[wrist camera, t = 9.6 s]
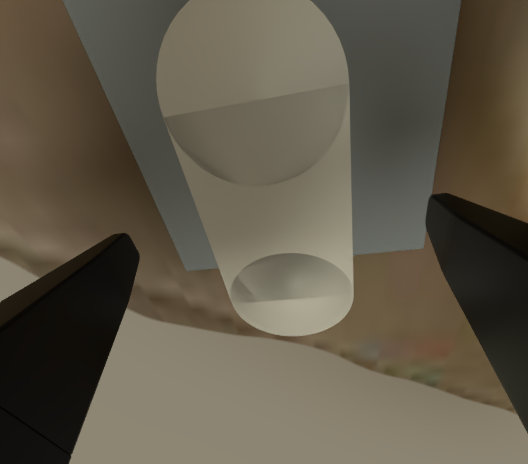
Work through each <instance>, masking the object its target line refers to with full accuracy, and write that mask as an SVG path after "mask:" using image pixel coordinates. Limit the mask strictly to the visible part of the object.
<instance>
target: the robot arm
mask: <svg viewBox="0 0 528 464" xmlns="http://www.w3.org/2000/svg"><path fill="white" fill-rule="evenodd" d="M425 225H426V229H427V232H428V235H429V237H430V240H431V243H432V245H433V248H434V251H435V253H436V256H437V259H438V262H439V264H440V267H441V269H442V272H443V274H444V276H445V278H446V280H447V282H448V284H449V286H450V288H451V290H452V291H453V293H454V295H455V297H456V299H457V301H458V303H459V305H460V307H461V308H462V310H463V312H464V314H465V316H466V318H467V320H468V322H469V324H470V325H471V327H472V329H473V331H474V333H475V335H476V337H477V339H478V340H479V342H480V344H481V346H482V348H483V350H484V352H485V354H486V356H487V357H488V359H489V361H490V363H491V365H492V367H493V369H494V371H495V373H496V374H497V376H498V378H499V380H500V382H501V384H502V386H503V388H504V390H505V391H506V393H507V395H508V397H509V399H510V401H511V403H512V405H513V406H514V408H515V410H516V412H517V414H518V416H519V418H520V419H521V421H522V423H523V425H524V427H525V429H526V431H527V433H528V223H526V222H524V221H521V220H518V219H515V218H513V217H510V216H507V215H505V214H502V213H499V212H497V211H494V210H491V209H489V208H486V207H483V206H481V205H478V204H475V203H473V202H470V201H467V200H465V199H462V198H459V197H457V196H454V195H451V194H449V193H441V194H434V195H431V196H430V197H429V200H428V205H427V212H426V219H425ZM139 258H140V257H139V252H138V250H137V249H136V247H135V245H134V243H133V241H132V240H131V238H130V236H129V235H128V234H126V233H120V234H114V235H112V236H110V237H108V238H107V239H105V240H103V241H101V242H100V243H98V244H96V245H95V246H93V247H91V248H90V249H88V250H86V251H85V252H83V253H81V254H80V255H78V256H76V257H75V258H73V259H71V260H70V261H68V262H66V263H65V264H63V265H61V266H60V267H58V268H56V269H55V270H53V271H51V272H50V273H48V274H46V275H45V276H43V277H41V278H40V279H38V280H36V281H35V282H33V283H31V284H30V285H28V286H26V287H24V288H23V289H21V290H19V291H18V292H16V293H15V294H13V295H11V296H9V297H8V298H6V299H4V300H3V301H1V302H0V464H69V461H70V459H71V454H72V453H73V450H74V447H75V445H76V442H77V439H78V437H79V434H80V431H81V428H82V426H83V423H84V421H85V418H86V415H87V413H88V410H89V407H90V404H91V402H92V399H93V396H94V394H95V391H96V388H97V386H98V383H99V380H100V377H101V375H102V372H103V370H104V367H105V364H106V361H107V359H108V356H109V353H110V351H111V348H112V345H113V343H114V340H115V337H116V335H117V332H118V329H119V326H120V324H121V321H122V318H123V315H124V313H125V310H126V308H127V305H128V302H129V299H130V295H131V291H132V287H133V283H134V279H135V275H136V272H137V268H138V264H139Z"/></svg>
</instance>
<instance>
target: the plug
mask: <svg viewBox="0 0 528 464" xmlns="http://www.w3.org/2000/svg"><path fill="white" fill-rule="evenodd" d="M156 84H157V95H158V100H159V105H160V109H161V112H162V115H163V118H164V121H165V124H166V126H167V129H168V132H169V135H170V137H171V140H172V143H173V145H174V148H175V151H176V153H177V156H178V159H179V162H180V164H181V167H182V170H183V172H184V175H185V178H186V181H187V183H188V186H189V189H190V191H191V194H192V197H193V199H194V202H195V205H196V208H197V210H198V213H199V216H200V218H201V221H202V224H203V227H204V229H205V232H206V235H207V237H208V240H209V243H210V245H211V248H212V251H213V254H214V256H215V259H216V262H217V264H218V267H219V270H220V273H221V275H222V278H223V281H224V283H225V286H226V289H227V291H228V294H229V297H230V300H231V302H232V305H233V307H234V309H235V310H236V312H237V313H238V315H239V316H240V317H241V318H242V319H243V320H245V321H246V322H247V323H249V324H250V325H252V326H253V327H255V328H257V329H260V330H262V331H265V332H268V333H271V334H276V335H282V336H303V335H310V334H314V333H318V332H321V331H324V330H326V329H328V328H330V327H332V326H334V325H335V324H337V323H338V322H339V321H341V320H342V319H343V318H344V317H345V316H346V314H347V313H348V312H349V310H350V308H351V306H352V303H353V296H354V289H353V241H352V192H351V144H350V96H349V74H348V66H347V62H346V57H345V53H344V50H343V48H342V45H341V42H340V40H339V38H338V36H337V34H336V32H335V30H334V28H333V26H332V25H331V23H330V22H329V21H328V19H327V18H326V16H325V15H324V14H323V13H322V11H321V10H320V9H319V8H318V7H317V6H316V5H315V4H314V3H313V2H312V1H310V0H189V1H188V2H187V3H186V4H185V6H184V7H183V8H182V9H181V10H180V11H179V12H178V13H177V15H176V16H175V18H174V19H173V21H172V22H171V24H170V26H169V28H168V30H167V32H166V34H165V36H164V38H163V42H162V45H161V48H160V51H159V56H158V61H157V72H156Z"/></svg>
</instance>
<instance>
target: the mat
mask: <svg viewBox="0 0 528 464" xmlns="http://www.w3.org/2000/svg"><path fill="white" fill-rule="evenodd" d="M188 1H189V0H63V2H64V4H65V7H66V9H67V11H68V13H69V15H70V17H71V20H72V22H73V24H74V26H75V28H76V31H77V33H78V35H79V37H80V39H81V42H82V44H83V46H84V48H85V50H86V52H87V55H88V57H89V59H90V61H91V63H92V66H93V68H94V70H95V72H96V74H97V76H98V79H99V81H100V83H101V85H102V87H103V90H104V92H105V94H106V96H107V98H108V101H109V103H110V105H111V107H112V109H113V111H114V114H115V116H116V118H117V120H118V122H119V125H120V127H121V129H122V131H123V133H124V136H125V138H126V140H127V142H128V144H129V146H130V149H131V151H132V153H133V155H134V157H135V160H136V162H137V164H138V166H139V168H140V170H141V173H142V175H143V177H144V179H145V181H146V184H147V186H148V188H149V190H150V192H151V195H152V197H153V199H154V201H155V203H156V205H157V208H158V210H159V212H160V214H161V216H162V219H163V221H164V223H165V225H166V227H167V230H168V232H169V234H170V236H171V238H172V240H173V243H174V245H175V247H176V249H177V251H178V254H179V256H180V258H181V260H182V262H183V264H184V267H185V269H186V271H194V270H204V269H215V268H219V267H218V264H217V262H216V259H215V256H214V254H213V251H212V248H211V245H210V243H209V240H208V237H207V235H206V232H205V229H204V227H203V224H202V221H201V218H200V216H199V213H198V210H197V208H196V205H195V202H194V199H193V197H192V194H191V191H190V189H189V186H188V183H187V181H186V178H185V175H184V172H183V170H182V167H181V164H180V162H179V159H178V156H177V153H176V151H175V148H174V145H173V143H172V140H171V137H170V135H169V132H168V129H167V126H166V124H165V121H164V118H163V115H162V112H161V109H160V105H159V100H158V95H157V84H156V72H157V61H158V56H159V51H160V48H161V45H162V42H163V38H164V36H165V34H166V32H167V30H168V28H169V26H170V24H171V22H172V21H173V19H174V18H175V16H176V15H177V13H178V12H179V11H180V10H181V9H182V8H183V7H184V6H185V4H186V3H187V2H188ZM310 1H312V2H313V3H314V4H315V5H316V6H317V7H318V8H319V9H320V10H321V11H322V13H323V14H324V15H325V16H326V18H327V19H328V21H329V22H330V23H331V25H332V26H333V28H334V30H335V32H336V34H337V36H338V38H339V40H340V42H341V45H342V48H343V50H344V53H345V57H346V62H347V66H348V74H349V96H350V144H351V192H352V241H353V255H360V254H370V253H381V252H391V251H402V250H412V249H422V248H423V247H424V240H425V234H426V225H425V219H426V212H427V205H428V200H429V197H430V196H431V195H432V188H433V182H434V175H435V169H436V162H437V156H438V149H439V143H440V136H441V130H442V123H443V117H444V110H445V104H446V97H447V91H448V84H449V78H450V71H451V65H452V58H453V52H454V45H455V39H456V32H457V26H458V19H459V13H460V6H461V0H310Z"/></svg>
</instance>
